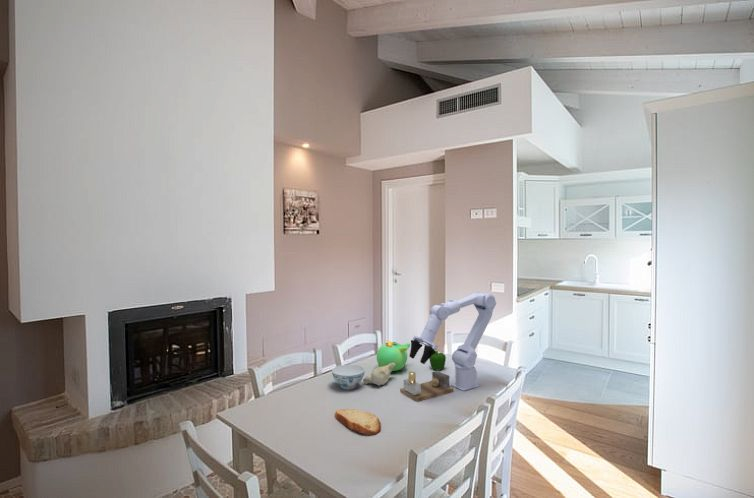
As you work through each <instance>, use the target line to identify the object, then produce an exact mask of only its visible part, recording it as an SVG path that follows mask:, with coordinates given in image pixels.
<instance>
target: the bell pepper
mask: <svg viewBox="0 0 754 498" xmlns="http://www.w3.org/2000/svg"><path fill="white" fill-rule="evenodd" d="M435 351H436V353H435V354H434V355H432V356H431V357H430V358H429V359H428V360H429V364H430V367H431V369H433V371H441V370H443V369H444V368H445V366H446V358H447V357H446V355H445V353H443V352H439V350H438V349H437V350H435Z"/></svg>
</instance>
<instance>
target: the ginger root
mask: <svg viewBox="0 0 754 498" xmlns="http://www.w3.org/2000/svg"><path fill="white" fill-rule="evenodd" d="M394 366H395V363H390V364H389V365H386V366H383V367H380V366H377V367H376V368H374V370H372V371H371V374H369V375H367V376H365V377H363V378H362V381H363V384H366V385H368V384H370V385H371V384H374V385H377V386H380V387H381V385H382V386H385V385H386V383H388V381H389V378H390V376H391V374H392V372H393V371H392V370H393V368H394Z"/></svg>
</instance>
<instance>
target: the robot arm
mask: <svg viewBox="0 0 754 498" xmlns="http://www.w3.org/2000/svg"><path fill="white" fill-rule="evenodd" d="M471 305H473V306H474V307H475V309H476V311H477V312H478V313H477V318H476V319H475V322H474V324H473V325H472V327H471V329H470V331H469V333H468V335H467V337H466V339H465V340H464V342H463V344H461V345H459V346H458V347H457V348H456V350H454V351H453V352H452V355H451V360H452V362H453V363H454V366H455V367H454V368H455V370H454V371H455V375H454V377H455V378H454V381H455V382H454V383H451V386H452V387H453V388H454V387H455V388H457V389H459V390H461V391H462V392H463V391H467V390H471V389H475V388H478V387H479V385H478V371H477V369H476V366H475V365H476V359H477V357H478V354H477V352H476V349H477V347H478V345H479V343H480V341H481V338H482V337H483V335H484V333H485V331H486V329H487V327H488V324H489V322H490V321H491V319H492V317H493V312H494V309H495V307H496V305H497V301H496V297H495V296H494V294H492V293H491V294H490V293H483V292H480V291H476V292H473V293H471V294H470V295H467V296H465V297H463V298H461V299H458V300H456V299H453V298H451V299H449V300H448V301H447V302H442V303H440V305H438V304H435V305H433V306H432V307H430V309H429V315H428V320H427V321H426V324H425V325H424V328H423V330H422V332H421V334H420V336H417V335H413V337H412V339H410V350H409V351H410V352H409V356H408V357H409V358H411V359H414V358H416V356H417V354H418V352H419V350H420V349H421V348H422V347H423V346H424V347H423V351H422V353H423V354H422V355H421V358H420V362H419V363H421V364H423V365H425V364H426V363H427V361H428V360H430V359H429V358H430V357H431V356H432V355H434V354H435V353H436V350H437V351H438V348H439V345H437V344H435V343H433V342H434V340H435V339H436V336H437V333H438V331H439V329H440V327H441V325H442V323H443V321H444V320H447V319H448V317H449V316H451V315H454V314H456V313H457V314H458V313H459V312H460V310H461V309H462V308H464V307H468V306H471Z"/></svg>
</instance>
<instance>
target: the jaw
mask: <svg viewBox="0 0 754 498" xmlns="http://www.w3.org/2000/svg"><path fill="white" fill-rule="evenodd" d="M407 375H408V378H405V379H403V388H404V390H406V391H408V392H410V393H412V394H413V395H418V394H421V383H419V382H417V381H416V378H417V377H416V375H417V373H416V371H409V372H408V374H407Z"/></svg>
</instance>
